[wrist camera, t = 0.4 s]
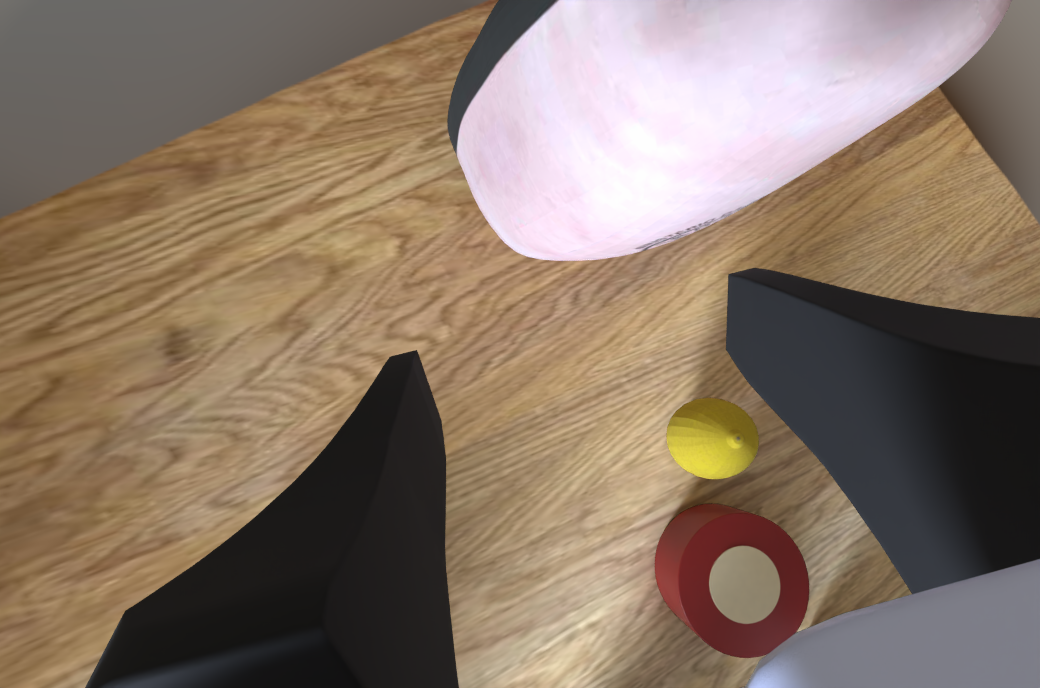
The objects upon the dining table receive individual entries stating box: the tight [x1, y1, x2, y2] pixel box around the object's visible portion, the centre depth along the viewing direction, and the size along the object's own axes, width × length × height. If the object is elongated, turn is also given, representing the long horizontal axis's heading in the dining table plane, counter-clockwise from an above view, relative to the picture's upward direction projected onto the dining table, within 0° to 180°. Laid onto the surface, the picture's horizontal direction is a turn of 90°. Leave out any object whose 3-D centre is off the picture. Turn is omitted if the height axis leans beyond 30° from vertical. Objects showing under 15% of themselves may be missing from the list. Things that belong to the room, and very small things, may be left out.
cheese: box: [655, 504, 809, 658], centre depth 36 cm, size 9×9×5 cm
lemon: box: [666, 398, 759, 479], centre depth 36 cm, size 6×6×8 cm
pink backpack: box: [447, 0, 1012, 261], centre depth 28 cm, size 22×20×30 cm
